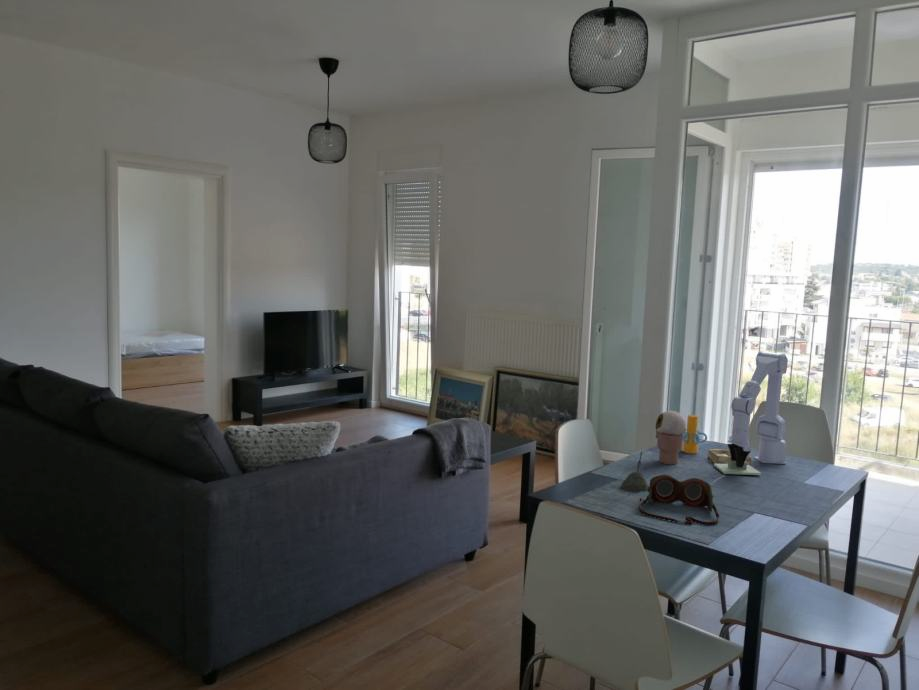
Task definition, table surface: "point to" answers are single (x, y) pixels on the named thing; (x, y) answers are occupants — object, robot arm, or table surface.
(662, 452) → the ice cream cone
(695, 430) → the yellow post with rings
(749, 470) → the lid
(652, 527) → the table surface
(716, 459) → the crate
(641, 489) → the sword in stone
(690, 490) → the goggles
